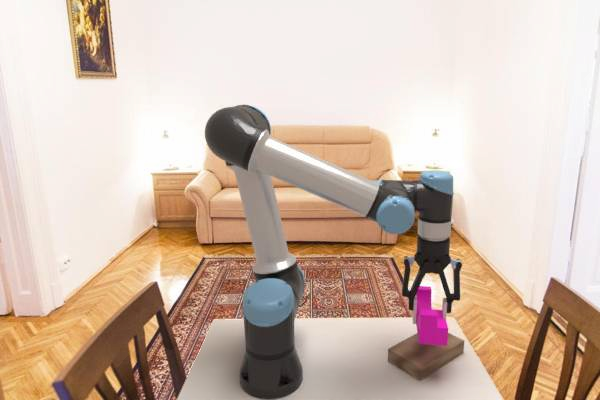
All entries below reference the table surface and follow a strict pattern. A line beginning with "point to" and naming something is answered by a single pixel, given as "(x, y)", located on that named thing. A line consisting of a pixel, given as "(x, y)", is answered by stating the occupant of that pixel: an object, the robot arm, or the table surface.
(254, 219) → the robot arm
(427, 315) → the toy block
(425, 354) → the walnut base block
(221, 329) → the table surface
